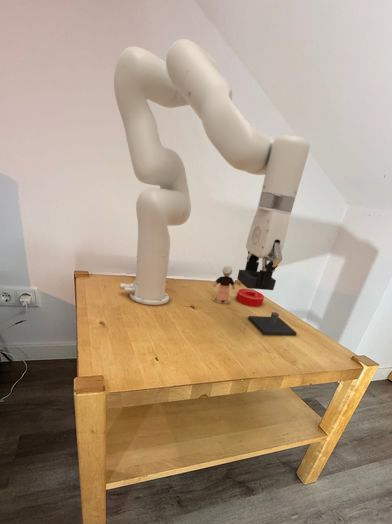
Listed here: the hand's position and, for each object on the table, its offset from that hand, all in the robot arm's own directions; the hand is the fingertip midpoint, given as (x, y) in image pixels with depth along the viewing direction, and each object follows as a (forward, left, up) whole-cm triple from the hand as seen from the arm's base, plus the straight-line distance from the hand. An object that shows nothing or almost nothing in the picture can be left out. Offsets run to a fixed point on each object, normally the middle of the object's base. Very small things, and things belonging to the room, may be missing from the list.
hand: (255, 281), depth 74 cm
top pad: (0, 0, -1) cm, 1 cm away
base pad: (+13, +7, -16) cm, 22 cm away
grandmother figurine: (+3, +26, -16) cm, 31 cm away
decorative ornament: (+15, +28, -16) cm, 35 cm away
